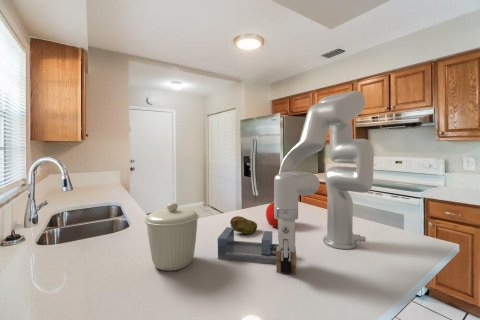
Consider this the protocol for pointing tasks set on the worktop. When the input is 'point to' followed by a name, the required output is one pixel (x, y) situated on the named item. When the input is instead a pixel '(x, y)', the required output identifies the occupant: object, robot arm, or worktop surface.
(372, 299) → the worktop surface
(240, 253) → the vise bed
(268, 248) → the sliding jaw
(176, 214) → the canister
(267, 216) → the tomato
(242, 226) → the potato
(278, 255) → the walnut block
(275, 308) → the worktop surface
